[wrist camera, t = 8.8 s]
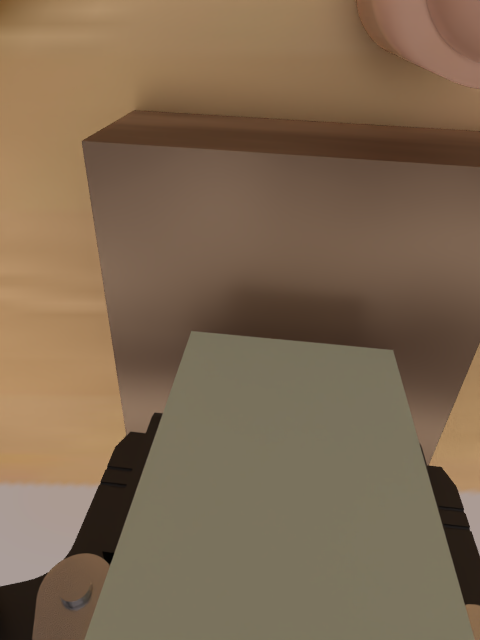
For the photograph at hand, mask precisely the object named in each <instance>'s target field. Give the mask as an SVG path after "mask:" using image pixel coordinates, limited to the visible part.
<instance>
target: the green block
mask: <svg viewBox="0 0 480 640" xmlns="http://www.w3.org/2000/svg"><path fill="white" fill-rule="evenodd" d="M84 640H475V639H474V636H473V632H472V628H471V625H470V621H469V618H468V614H467V611H466V607H465V604H464V600H463V596H462V593H461V589H460V586H459V582H458V579H457V575H456V572H455V568H454V565H453V561H452V557H451V554H450V550H449V547H448V543H447V540H446V536H445V533H444V529H443V526H442V522H441V518H440V515H439V511H438V508H437V504H436V501H435V497H434V494H433V490H432V486H431V483H430V479H429V476H428V472H427V469H426V465H425V462H424V458H423V455H422V451H421V447H420V444H419V440H418V437H417V433H416V430H415V426H414V423H413V419H412V415H411V412H410V408H409V405H408V401H407V398H406V394H405V391H404V387H403V384H402V380H401V376H400V373H399V369H398V366H397V362H396V359H395V355H394V352H393V350H387V349H377V348H366V347H355V346H345V345H334V344H324V343H313V342H302V341H292V340H281V339H270V338H260V337H249V336H239V335H228V334H217V333H207V332H196V331H191V334H190V337H189V339H188V342H187V345H186V348H185V351H184V354H183V357H182V360H181V362H180V365H179V368H178V371H177V374H176V377H175V380H174V383H173V386H172V388H171V391H170V394H169V397H168V400H167V403H166V406H165V409H164V412H163V414H162V417H161V420H160V423H159V426H158V429H157V432H156V435H155V437H154V440H153V443H152V446H151V449H150V452H149V455H148V458H147V461H146V463H145V466H144V469H143V472H142V475H141V478H140V481H139V484H138V487H137V489H136V492H135V495H134V498H133V501H132V504H131V507H130V510H129V513H128V515H127V518H126V521H125V524H124V527H123V530H122V533H121V536H120V538H119V541H118V544H117V547H116V550H115V553H114V556H113V559H112V562H111V564H110V567H109V570H108V573H107V576H106V579H105V582H104V585H103V588H102V590H101V593H100V596H99V599H98V602H97V605H96V608H95V611H94V614H93V616H92V619H91V622H90V625H89V628H88V631H87V634H86V637H85V639H84Z"/></svg>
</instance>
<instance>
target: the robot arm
mask: <svg viewBox="0 0 480 640" xmlns="http://www.w3.org/2000/svg"><path fill="white" fill-rule="evenodd" d="M162 414H163V413H156V412H155V413H154V414H153V416H152V418H151V420H150V423H149V426H148V429H147V431H146V433H140V432H130V433H129V434H128V435H127V436H126V437H125V438H124V439H123V440H122V441H121V442H120V443H119V444H118V445H117V446H116V447H115V449H114V451H113V454H112V456H111V459H110V461H109V463H108V466H107V470H105V473H104V475H103V477H102V480H101V484H100V485H99V487H98V489H97V491H96V494H95V496H94V498H93V501H92V503H91V505H90V508H89V510H88V512H87V515H86V517H85V519H84V522H83V524H82V526H81V529H80V531H79V533H78V536H77V538H76V541H75V543H74V545H73V547H72V549H71V550H70V552H69V553H68V555H67V556H66V557H65V558H64V560H62V561H61V562H59V563H58V564H57V565H55V566H54V567H53V568H52V569H51V570H50V571H49V572H48V573H46V574H44V575H43V576H40V577H38V578H35V579H32V580H29V581H24V582H20V583H15V584H10V585H6V586H1V587H0V640H84V639H85V637H86V634H87V631H88V628H89V625H90V622H91V619H92V616H93V614H94V611H95V608H96V605H97V602H98V599H99V596H100V593H101V590H102V588H103V585H104V582H105V579H106V576H107V573H108V570H109V567H110V564H111V562H112V559H113V556H114V553H115V550H116V547H117V544H118V541H119V538H120V536H121V533H122V530H123V527H124V524H125V521H126V518H127V515H128V513H129V510H130V507H131V504H132V501H133V498H134V495H135V492H136V489H137V487H138V484H139V481H140V478H141V475H142V472H143V469H144V466H145V463H146V461H147V458H148V455H149V452H150V449H151V446H152V443H153V440H154V437H155V435H156V432H157V429H158V426H159V423H160V420H161V417H162ZM419 444H420V443H419ZM420 447H421V451H422V455H423V458H424V462H425V465H426V469H427V472H428V476H429V479H430V483H431V486H432V490H433V494H434V497H435V501H436V504H437V508H438V511H439V515H440V518H441V522H442V526H443V529H444V533H445V536H446V540H447V543H448V547H449V550H450V554H451V557H452V561H453V565H454V568H455V572H456V575H457V579H458V582H459V586H460V589H461V593H462V596H463V600H464V604H465V607H466V611H467V614H468V618H469V621H470V625H471V628H472V632H473V636H474V639H475V640H480V556H479V553H478V550H477V547H476V544H475V541H474V538H473V535H472V532H471V531H470V529H469V528H470V526H469V523H468V520H467V517H466V514H465V513H464V508H463V505H462V502H461V499H460V496H459V493H458V490H457V487H456V485H455V484H454V483H453V482H452V480H451V479H450V478H449V476H448V475H447V474H446V472H445V471H444V470H443V469H442V467H436V466H428V465H427V463H426V460H425V456H424V453H423V449H422V446H421V444H420Z"/></svg>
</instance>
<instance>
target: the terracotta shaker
mask: <svg viewBox="0 0 480 640" xmlns="http://www.w3.org/2000/svg"><path fill="white" fill-rule="evenodd" d="M356 4H357V9H358V13H359V17H360V19H361V22H362V25H363V27H364V28H365V30H366V32H367V33H368V35H369V36H370V37H371V39H372V40H373V41H374V42H375V43H376V44H377V45H378V46H380V47H381V48H382V49H384V50H385V51H387V52H389V53H391V54H394V55H396V56H398V57H400V58H402V59H405V60H407V61H409V62H411V63H413V64H415V65H418V66H420V67H422V68H424V69H426V70H429V71H431V72H433V73H435V74H437V75H439V76H442V77H444V78H446V79H448V80H450V81H453V82H455V83H457V84H460V85H464V86H467V87H470V88H478V89H480V0H356Z"/></svg>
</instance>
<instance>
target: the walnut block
mask: <svg viewBox="0 0 480 640" xmlns="http://www.w3.org/2000/svg"><path fill="white" fill-rule="evenodd" d="M82 146H83V153H84V159H85V166H86V173H87V179H88V186H89V192H90V199H91V206H92V212H93V219H94V225H95V232H96V238H97V245H98V252H99V258H100V265H101V271H102V278H103V285H104V291H105V298H106V304H107V311H108V317H109V324H110V331H111V337H112V344H113V350H114V357H115V364H116V370H117V377H118V383H119V390H120V397H121V403H122V410H123V416H124V423H125V429H126V436H127V435H128V434H129V433H130V432H140V433H146V431H147V429H148V426H149V423H150V420H151V418H152V416H153V414H154V413H155V412H156V413H163V412H164V409H165V406H166V403H167V400H168V397H169V394H170V391H171V388H172V386H173V383H174V380H175V377H176V374H177V371H178V368H179V365H180V362H181V360H182V357H183V354H184V351H185V348H186V345H187V342H188V339H189V337H190V334H191V331H196V332H207V333H217V334H228V335H239V336H249V337H260V338H270V339H281V340H292V341H302V342H313V343H324V344H334V345H345V346H355V347H366V348H377V349H387V350H393V352H394V355H395V359H396V362H397V366H398V369H399V373H400V376H401V380H402V384H403V387H404V391H405V394H406V398H407V401H408V405H409V408H410V412H411V415H412V419H413V423H414V426H415V430H416V433H417V437H418V440H419V443H420V444H421V446H422V449H423V453H424V456H425V460H426V463H427V465H428V466H429V463H430V461H431V458H432V456H433V453H434V451H435V449H436V446H437V444H438V441H439V439H440V437H441V434H442V432H443V429H444V427H445V425H446V422H447V420H448V417H449V415H450V413H451V410H452V408H453V405H454V403H455V401H456V398H457V396H458V393H459V391H460V389H461V386H462V384H463V381H464V379H465V377H466V374H467V372H468V369H469V367H470V365H471V362H472V360H473V357H474V355H475V353H476V350H477V348H478V345H479V343H480V131H467V130H451V129H434V128H418V127H401V126H384V125H368V124H351V123H335V122H318V121H301V120H285V119H268V118H252V117H235V116H219V115H202V114H185V113H169V112H152V111H136V110H134V111H132V112H131V113H129V114H127V115H125V116H124V117H122V118H120V119H119V120H117V121H115V122H113V123H112V124H110V125H108V126H107V127H105V128H103V129H101V130H100V131H98V132H96V133H95V134H93V135H91V136H89V137H88V138H86V139H84V140H83V141H82Z"/></svg>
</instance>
